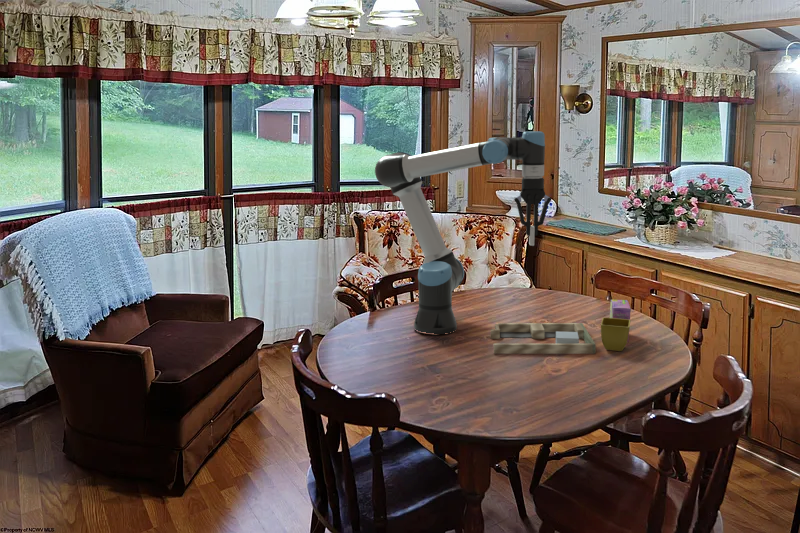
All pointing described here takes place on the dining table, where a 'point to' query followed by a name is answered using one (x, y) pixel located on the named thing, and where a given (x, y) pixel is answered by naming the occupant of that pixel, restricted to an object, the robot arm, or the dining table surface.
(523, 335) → the box
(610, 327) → the flower pot
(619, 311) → the box
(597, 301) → the dining table surface
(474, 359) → the dining table surface
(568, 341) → the block
